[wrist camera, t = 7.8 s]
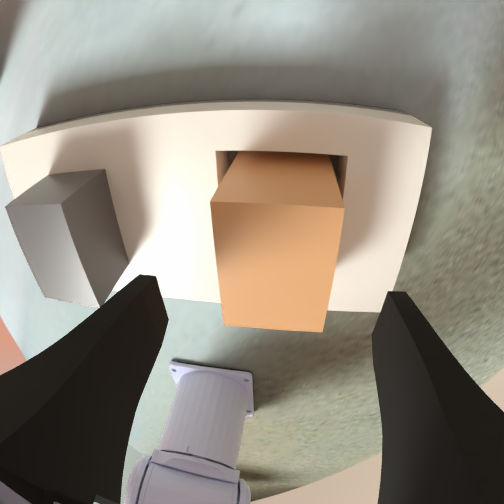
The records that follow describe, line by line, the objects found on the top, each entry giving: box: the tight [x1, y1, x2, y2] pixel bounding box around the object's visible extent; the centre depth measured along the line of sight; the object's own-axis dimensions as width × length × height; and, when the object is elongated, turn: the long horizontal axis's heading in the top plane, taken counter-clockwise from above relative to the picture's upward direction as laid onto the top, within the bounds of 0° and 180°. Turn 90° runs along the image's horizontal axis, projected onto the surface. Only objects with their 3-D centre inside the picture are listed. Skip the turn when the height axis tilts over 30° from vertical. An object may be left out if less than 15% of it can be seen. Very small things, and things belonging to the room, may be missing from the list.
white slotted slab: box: [0, 99, 432, 312], centre depth 14 cm, size 22×10×7 cm, turn 91°
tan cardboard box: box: [210, 151, 345, 332], centre depth 13 cm, size 6×4×6 cm
